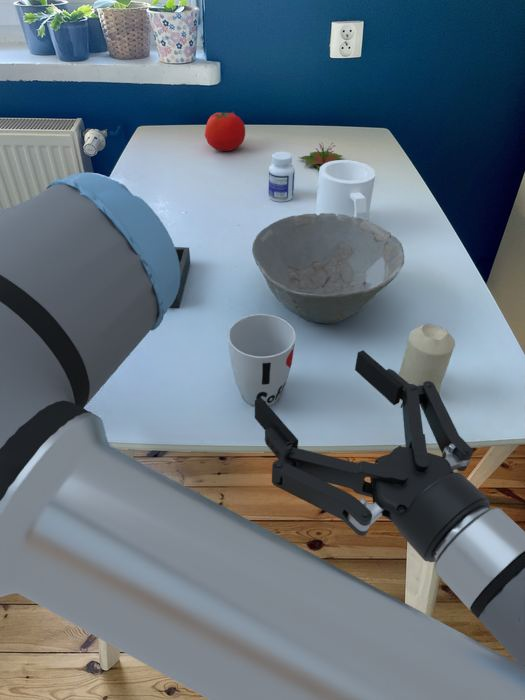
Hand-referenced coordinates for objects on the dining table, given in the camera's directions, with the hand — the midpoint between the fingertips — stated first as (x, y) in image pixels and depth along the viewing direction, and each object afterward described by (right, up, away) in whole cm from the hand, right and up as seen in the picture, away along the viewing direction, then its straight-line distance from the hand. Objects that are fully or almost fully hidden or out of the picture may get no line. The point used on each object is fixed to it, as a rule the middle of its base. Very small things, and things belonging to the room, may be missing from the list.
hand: (310, 382), depth 58 cm
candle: (+16, -2, +14) cm, 21 cm away
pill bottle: (-1, +36, +55) cm, 66 cm away
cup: (-6, -2, +13) cm, 14 cm away
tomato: (-14, +53, +74) cm, 92 cm away
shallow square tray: (-25, +15, +31) cm, 42 cm away
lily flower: (+9, +47, +68) cm, 84 cm away
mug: (+10, +27, +46) cm, 55 cm away
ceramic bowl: (+4, +11, +28) cm, 30 cm away
